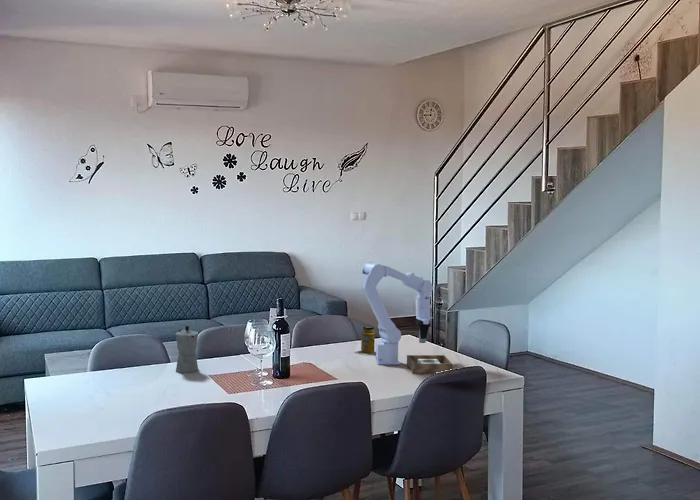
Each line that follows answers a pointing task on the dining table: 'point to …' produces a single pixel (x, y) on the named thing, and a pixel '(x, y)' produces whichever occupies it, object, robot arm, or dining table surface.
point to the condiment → (367, 340)
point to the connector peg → (421, 339)
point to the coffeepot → (187, 351)
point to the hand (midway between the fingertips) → (422, 337)
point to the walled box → (428, 363)
